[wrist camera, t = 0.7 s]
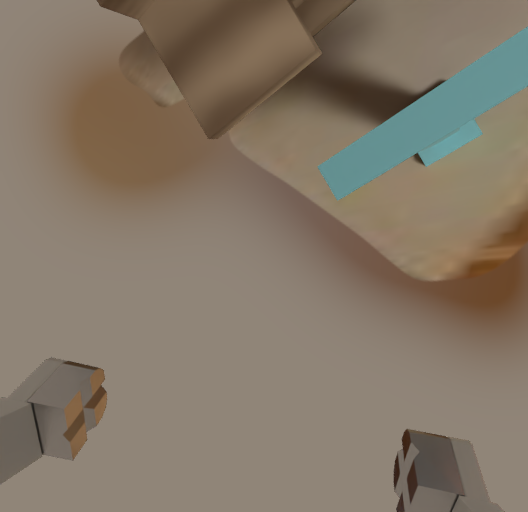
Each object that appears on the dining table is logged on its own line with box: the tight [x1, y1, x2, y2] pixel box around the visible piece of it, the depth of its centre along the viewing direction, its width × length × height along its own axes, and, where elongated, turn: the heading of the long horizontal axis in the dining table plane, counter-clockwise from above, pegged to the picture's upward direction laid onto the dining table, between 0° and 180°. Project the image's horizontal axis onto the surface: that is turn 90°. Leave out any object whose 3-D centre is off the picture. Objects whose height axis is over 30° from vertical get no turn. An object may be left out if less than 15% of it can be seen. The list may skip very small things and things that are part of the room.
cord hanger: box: [318, 27, 528, 201], centre depth 37 cm, size 6×16×18 cm, turn 124°
